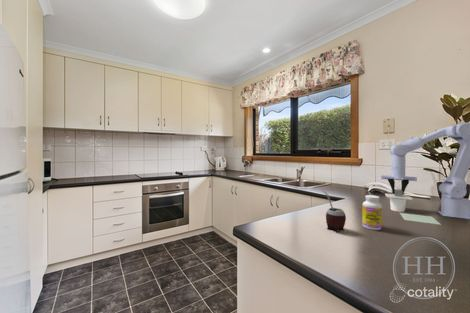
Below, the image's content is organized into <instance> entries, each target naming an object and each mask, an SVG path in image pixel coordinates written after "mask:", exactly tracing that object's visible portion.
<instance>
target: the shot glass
mask: <svg viewBox="0 0 470 313" xmlns="http://www.w3.org/2000/svg"><path fill="white" fill-rule="evenodd" d="M389 204H390V206H389V207H390V210H391V211H394V212H399V213H404V212H406V211H405V210H406V205H407V199H398V198H389Z"/></svg>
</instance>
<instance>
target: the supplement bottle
mask: <svg viewBox="0 0 470 313" xmlns="http://www.w3.org/2000/svg"><path fill="white" fill-rule="evenodd" d="M379 201H380V196H378V195H371V194H367V195H365V201H363V202H362V213H361V214H362V216H361V218H362V220H361V222H362V227H363V228H364V229H368V230H372V231H381V229H382V226H383V224H382V222H383V218H382V217H383V204H382V203H381V202H379Z"/></svg>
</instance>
